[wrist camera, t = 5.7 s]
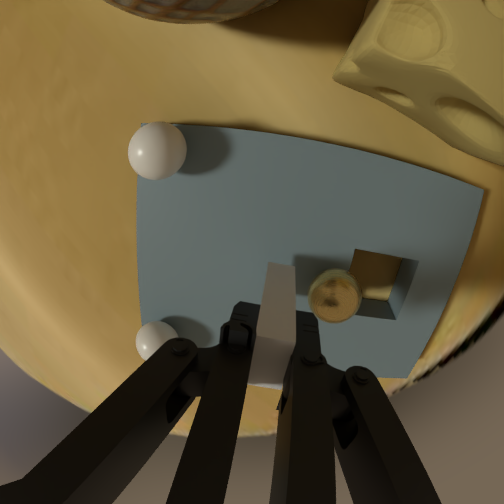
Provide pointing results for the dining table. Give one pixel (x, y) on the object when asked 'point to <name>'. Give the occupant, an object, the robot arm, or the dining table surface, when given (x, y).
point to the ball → (334, 295)
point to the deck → (300, 238)
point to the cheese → (435, 68)
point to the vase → (191, 9)
